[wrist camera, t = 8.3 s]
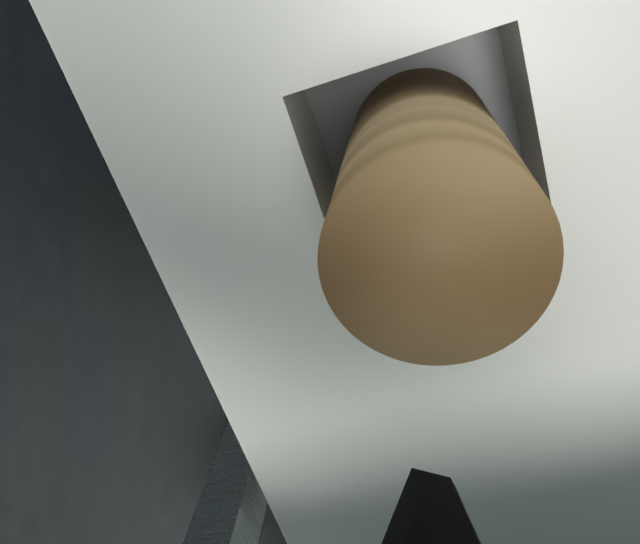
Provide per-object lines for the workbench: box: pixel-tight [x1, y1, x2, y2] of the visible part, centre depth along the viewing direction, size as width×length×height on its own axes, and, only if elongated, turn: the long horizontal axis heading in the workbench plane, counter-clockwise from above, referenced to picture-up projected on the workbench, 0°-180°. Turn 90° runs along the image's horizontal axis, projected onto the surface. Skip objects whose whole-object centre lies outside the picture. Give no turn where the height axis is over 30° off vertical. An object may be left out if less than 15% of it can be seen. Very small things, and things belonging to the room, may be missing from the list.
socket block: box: [29, 0, 640, 544], centre depth 17 cm, size 20×14×4 cm
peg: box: [317, 68, 564, 366], centre depth 13 cm, size 4×4×8 cm
